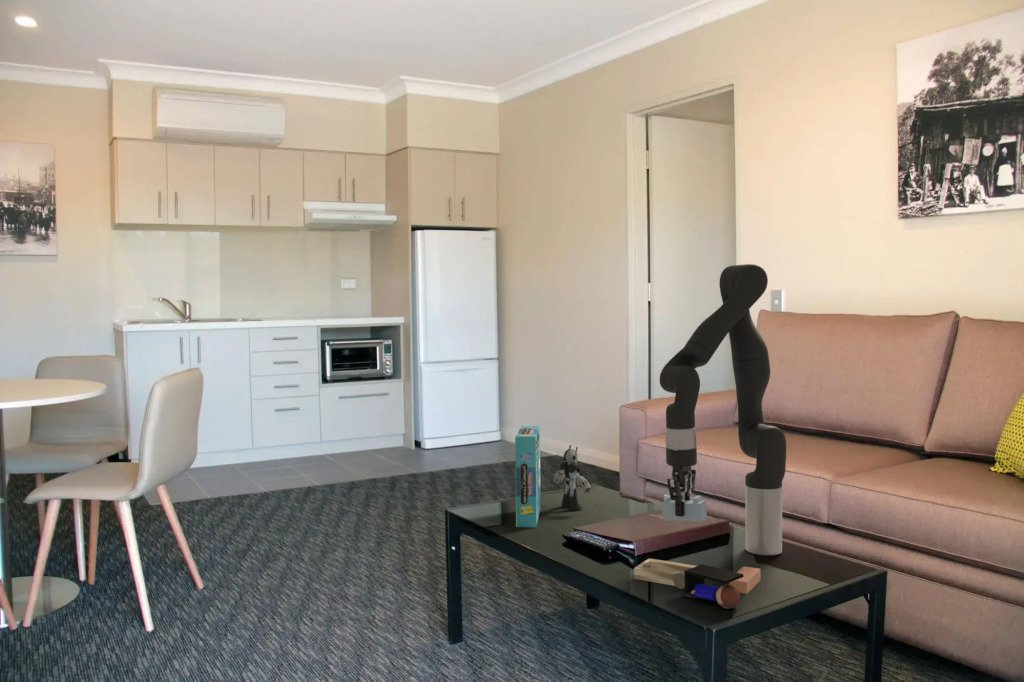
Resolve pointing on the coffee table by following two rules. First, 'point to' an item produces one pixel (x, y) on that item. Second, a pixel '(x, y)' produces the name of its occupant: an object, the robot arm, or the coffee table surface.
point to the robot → (571, 480)
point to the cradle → (659, 571)
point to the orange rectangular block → (747, 579)
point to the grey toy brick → (693, 510)
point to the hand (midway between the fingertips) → (682, 513)
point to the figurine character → (696, 585)
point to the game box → (528, 476)
